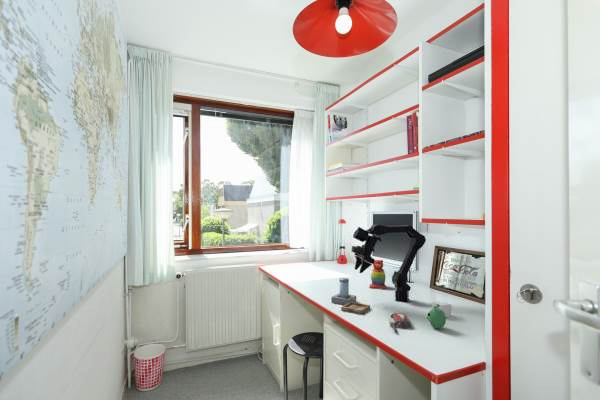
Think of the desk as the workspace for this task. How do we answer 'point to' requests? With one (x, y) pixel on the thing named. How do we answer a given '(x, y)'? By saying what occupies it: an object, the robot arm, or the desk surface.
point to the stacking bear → (378, 275)
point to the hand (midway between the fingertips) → (357, 271)
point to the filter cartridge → (344, 287)
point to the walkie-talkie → (399, 321)
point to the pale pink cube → (443, 307)
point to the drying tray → (355, 307)
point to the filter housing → (343, 299)
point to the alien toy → (436, 317)
